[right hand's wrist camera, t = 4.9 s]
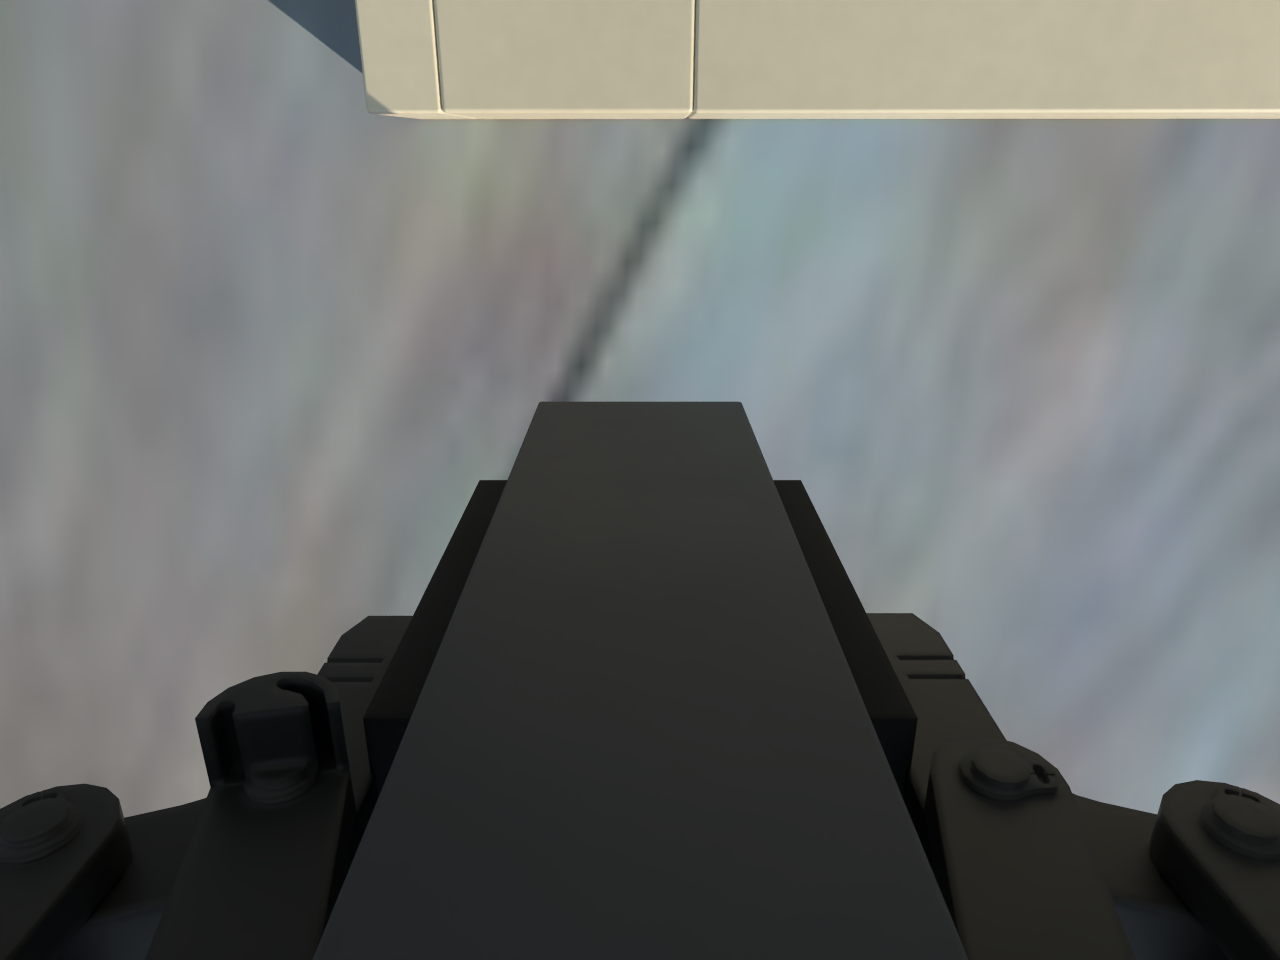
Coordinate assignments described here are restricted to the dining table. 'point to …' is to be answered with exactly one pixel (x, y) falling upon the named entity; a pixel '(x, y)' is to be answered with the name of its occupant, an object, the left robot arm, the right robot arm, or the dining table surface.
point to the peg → (640, 730)
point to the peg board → (820, 59)
